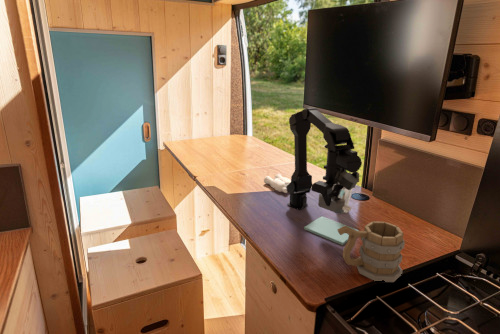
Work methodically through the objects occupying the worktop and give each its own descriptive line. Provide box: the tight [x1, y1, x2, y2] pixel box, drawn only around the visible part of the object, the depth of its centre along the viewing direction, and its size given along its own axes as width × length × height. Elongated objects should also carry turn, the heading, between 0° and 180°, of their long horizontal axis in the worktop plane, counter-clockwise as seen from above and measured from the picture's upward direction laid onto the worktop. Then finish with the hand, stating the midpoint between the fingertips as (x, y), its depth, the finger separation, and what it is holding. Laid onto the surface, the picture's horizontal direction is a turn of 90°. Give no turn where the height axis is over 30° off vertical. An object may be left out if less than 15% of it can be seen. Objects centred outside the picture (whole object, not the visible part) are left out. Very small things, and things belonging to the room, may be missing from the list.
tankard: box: [338, 221, 406, 283], centre depth 105 cm, size 20×13×15 cm, turn 88°
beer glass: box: [338, 187, 353, 214], centre depth 143 cm, size 7×7×15 cm
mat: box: [303, 215, 360, 246], centre depth 129 cm, size 16×12×1 cm
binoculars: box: [263, 173, 291, 194], centre depth 168 cm, size 10×16×5 cm, turn 30°
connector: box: [318, 193, 352, 214], centre depth 124 cm, size 12×4×4 cm, turn 46°
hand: (331, 204), depth 125 cm, fingers closed on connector, 4 cm apart
